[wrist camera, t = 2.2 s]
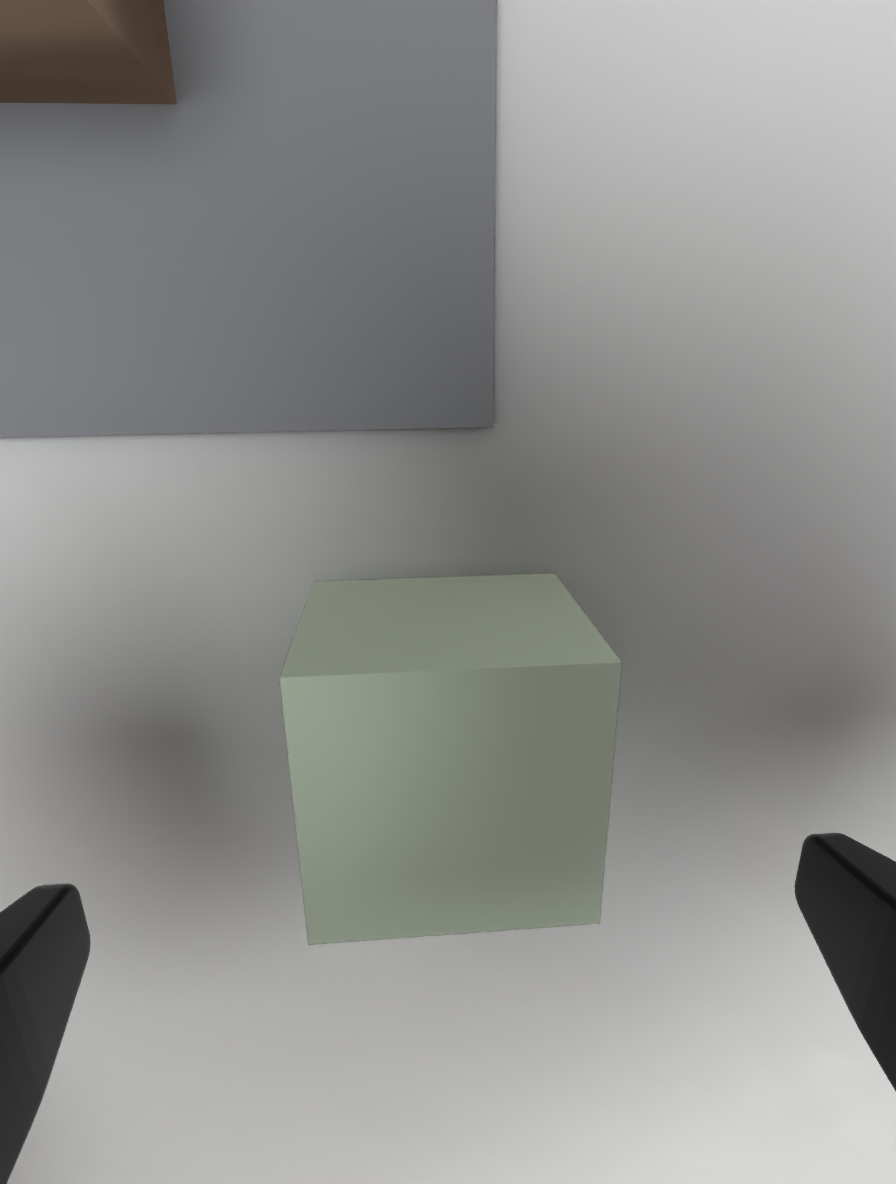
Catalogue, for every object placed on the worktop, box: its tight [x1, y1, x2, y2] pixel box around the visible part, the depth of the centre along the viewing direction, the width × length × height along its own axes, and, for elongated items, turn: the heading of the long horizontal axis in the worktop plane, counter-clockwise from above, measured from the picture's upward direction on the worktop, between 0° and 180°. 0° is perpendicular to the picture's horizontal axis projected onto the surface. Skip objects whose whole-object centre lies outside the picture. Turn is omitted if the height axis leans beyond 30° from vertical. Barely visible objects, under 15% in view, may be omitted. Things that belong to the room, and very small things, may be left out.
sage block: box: [280, 573, 622, 945], centre depth 11 cm, size 4×4×4 cm
